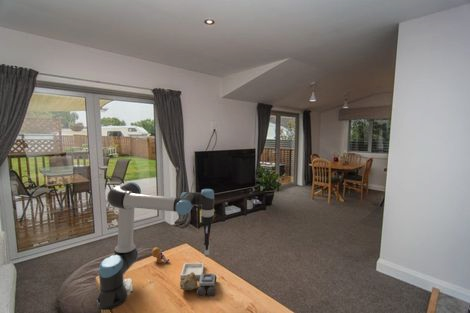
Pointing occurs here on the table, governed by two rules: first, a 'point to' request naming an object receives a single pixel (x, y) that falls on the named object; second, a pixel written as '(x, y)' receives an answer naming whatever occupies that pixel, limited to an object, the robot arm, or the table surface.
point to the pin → (209, 245)
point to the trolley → (206, 280)
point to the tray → (192, 270)
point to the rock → (189, 282)
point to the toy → (158, 255)
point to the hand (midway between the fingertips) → (207, 252)
